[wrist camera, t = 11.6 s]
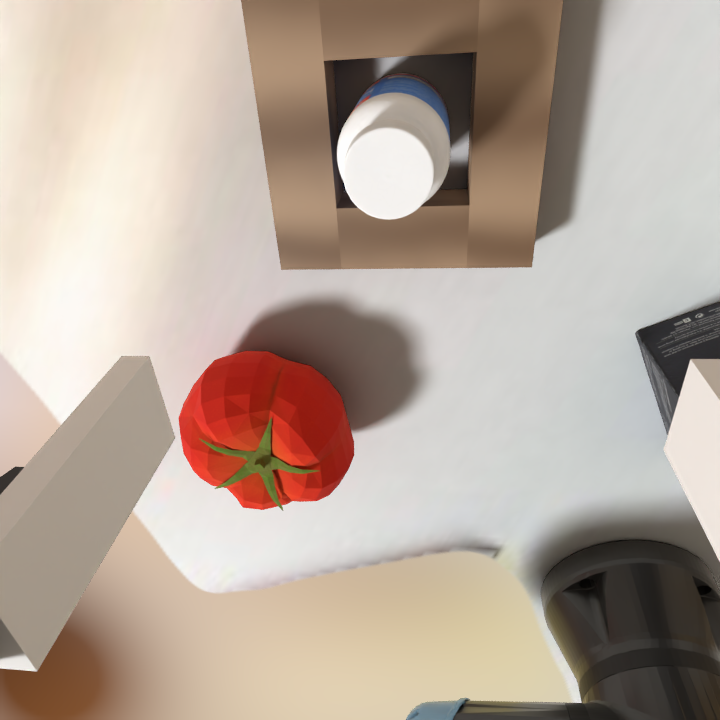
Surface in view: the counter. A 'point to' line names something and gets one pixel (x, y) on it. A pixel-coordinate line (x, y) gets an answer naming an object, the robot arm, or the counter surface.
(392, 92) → the pill bottle
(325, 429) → the tomato
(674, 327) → the small box
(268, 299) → the counter surface
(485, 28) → the walnut holder block
